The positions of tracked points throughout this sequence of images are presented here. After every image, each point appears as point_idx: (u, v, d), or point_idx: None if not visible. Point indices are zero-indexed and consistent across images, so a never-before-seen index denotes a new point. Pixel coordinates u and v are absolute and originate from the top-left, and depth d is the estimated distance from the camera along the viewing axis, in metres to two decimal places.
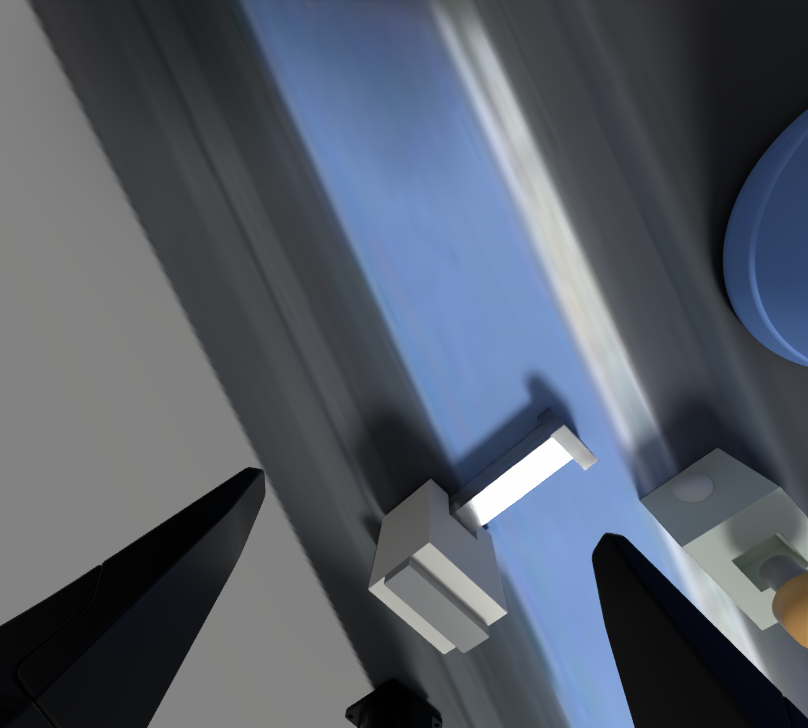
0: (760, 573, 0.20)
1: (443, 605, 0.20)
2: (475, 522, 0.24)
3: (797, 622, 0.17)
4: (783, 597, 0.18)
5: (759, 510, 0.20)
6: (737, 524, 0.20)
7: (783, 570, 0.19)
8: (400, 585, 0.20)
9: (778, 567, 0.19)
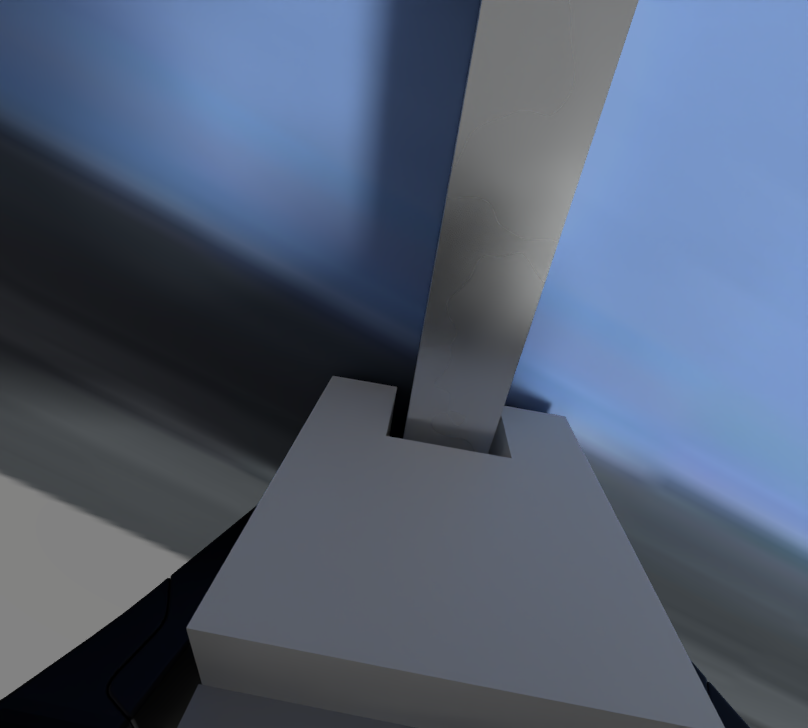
0: None
1: None
2: (477, 416, 0.08)
3: None
4: None
5: None
6: None
7: None
8: None
9: None
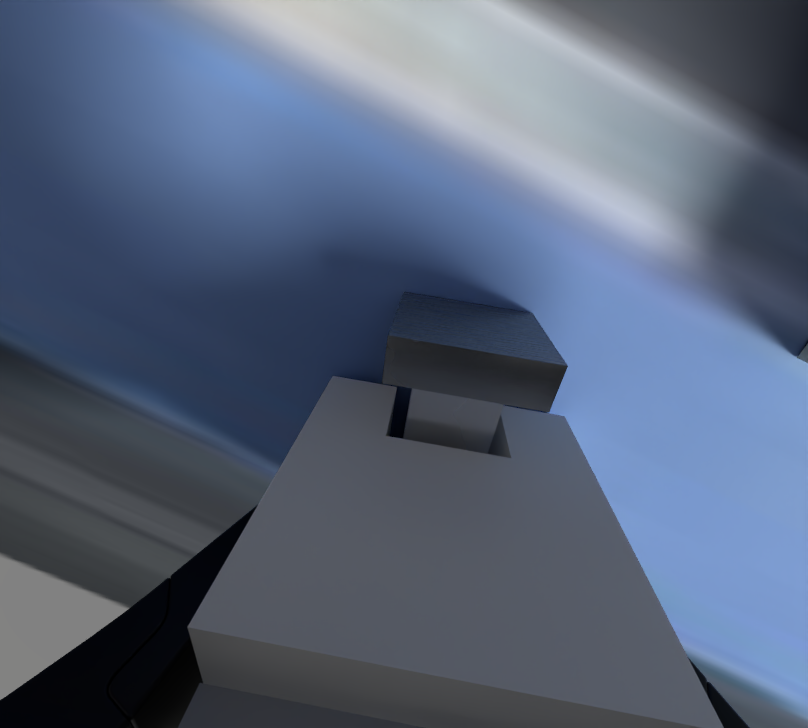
0: None
1: None
2: None
3: None
4: None
5: None
6: None
7: None
8: None
9: None
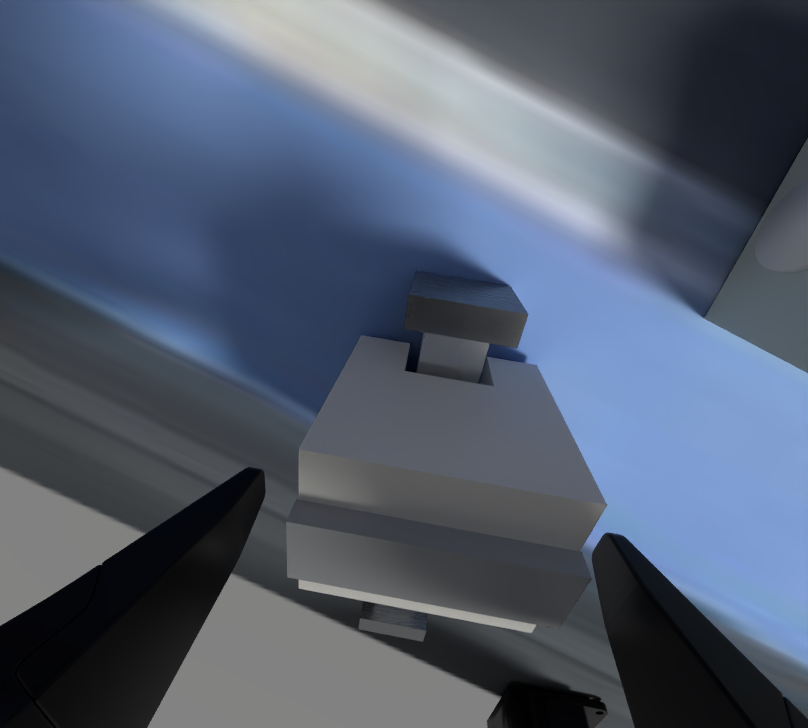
0: None
1: (431, 563, 0.08)
2: None
3: None
4: None
5: None
6: None
7: None
8: (315, 565, 0.08)
9: None
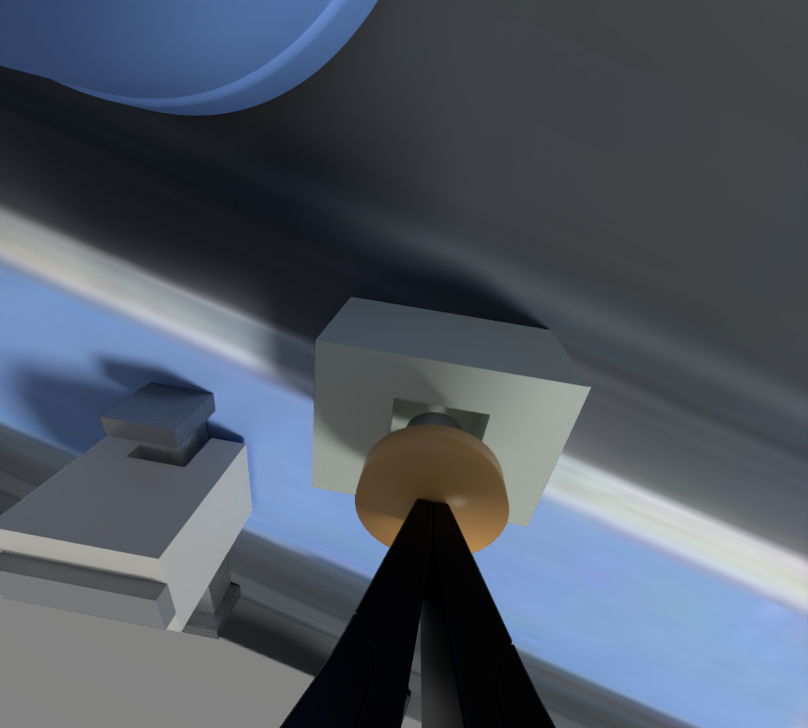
0: None
1: (71, 591, 0.13)
2: None
3: (386, 536, 0.10)
4: None
5: (333, 388, 0.11)
6: (332, 423, 0.12)
7: None
8: (14, 591, 0.13)
9: None
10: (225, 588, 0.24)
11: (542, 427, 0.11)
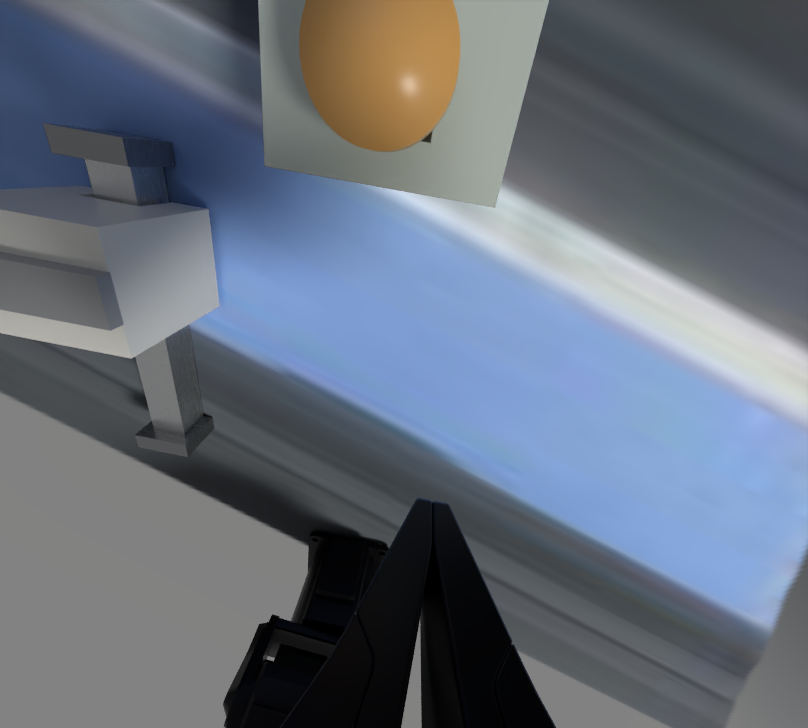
0: None
1: (7, 273, 0.12)
2: None
3: (334, 116, 0.09)
4: None
5: None
6: (280, 52, 0.11)
7: None
8: None
9: None
10: (196, 414, 0.23)
11: (508, 32, 0.10)
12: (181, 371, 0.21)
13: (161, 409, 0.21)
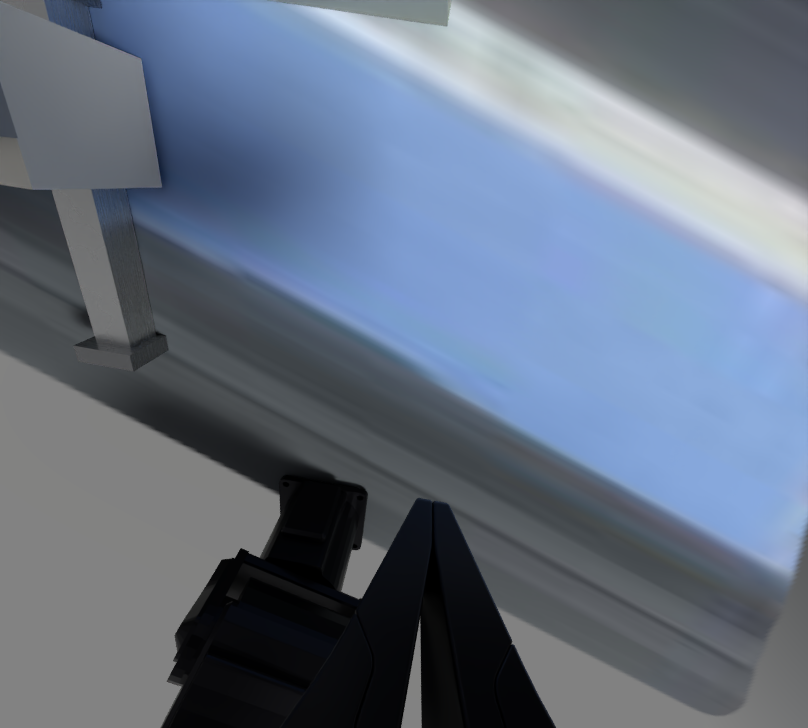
0: None
1: None
2: (86, 209, 0.17)
3: None
4: None
5: None
6: None
7: None
8: None
9: None
10: (146, 329, 0.21)
11: None
12: (124, 269, 0.19)
13: (102, 315, 0.19)
